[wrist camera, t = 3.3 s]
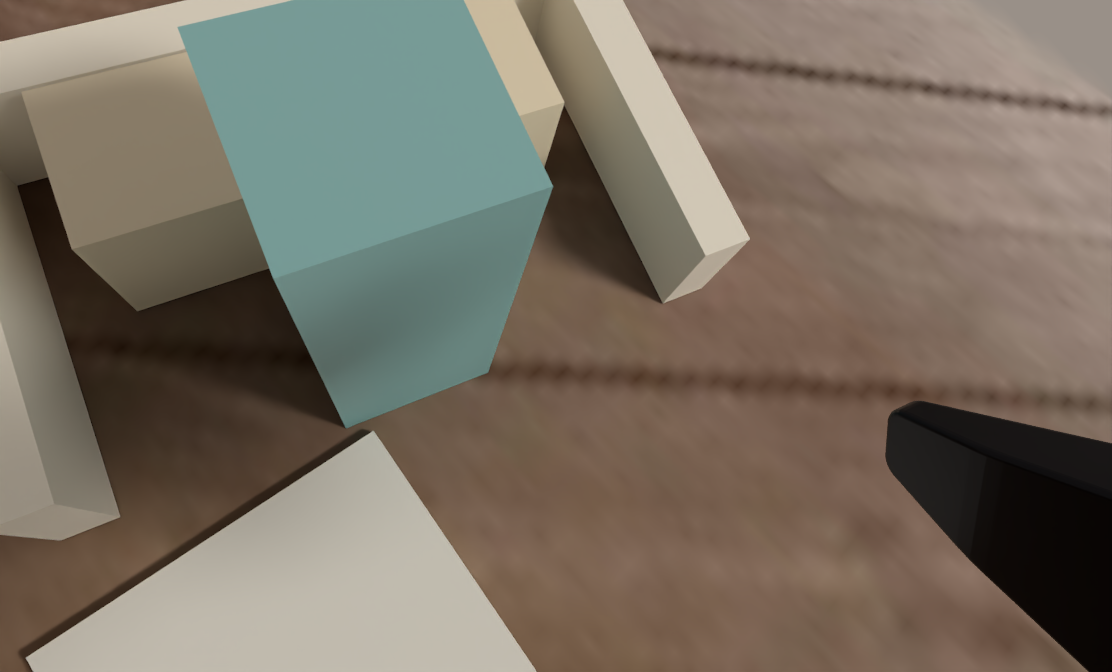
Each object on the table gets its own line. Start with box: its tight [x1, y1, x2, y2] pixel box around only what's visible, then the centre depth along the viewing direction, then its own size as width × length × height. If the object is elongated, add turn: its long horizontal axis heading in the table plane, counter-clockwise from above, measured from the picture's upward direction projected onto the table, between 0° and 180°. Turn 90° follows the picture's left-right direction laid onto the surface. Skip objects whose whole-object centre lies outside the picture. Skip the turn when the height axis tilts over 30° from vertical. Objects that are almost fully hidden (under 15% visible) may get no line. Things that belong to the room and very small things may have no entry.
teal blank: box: [177, 0, 553, 428], centre depth 18 cm, size 4×4×12 cm
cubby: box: [0, 0, 750, 541], centre depth 22 cm, size 12×20×4 cm, turn 114°
